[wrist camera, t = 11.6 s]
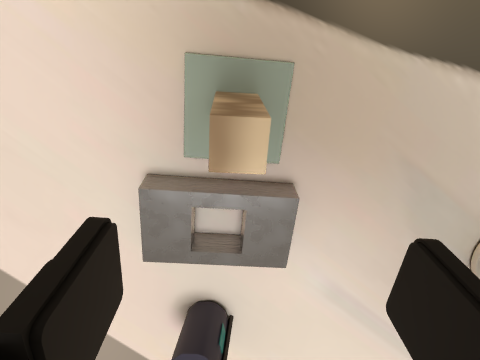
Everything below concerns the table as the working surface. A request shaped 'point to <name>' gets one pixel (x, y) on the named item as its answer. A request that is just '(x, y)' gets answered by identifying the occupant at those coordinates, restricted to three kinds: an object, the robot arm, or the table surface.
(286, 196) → the plate with square hole
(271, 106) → the pad
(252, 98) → the peg
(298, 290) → the table surface
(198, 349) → the speaker
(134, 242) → the table surface
